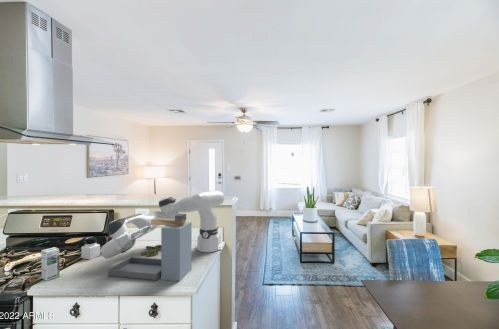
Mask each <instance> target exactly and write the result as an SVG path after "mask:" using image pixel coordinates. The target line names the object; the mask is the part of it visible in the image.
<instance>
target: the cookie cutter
mask: <svg viewBox="0 0 499 329" xmlns="http://www.w3.org/2000/svg"><path fill="white" fill-rule="evenodd" d="M145 250H146V251H142V252H140V256H141V257H143V256H146V258H151V257H156V256H158V255H159V252H161V244H156V245H155V246H151V245H146V246H145Z"/></svg>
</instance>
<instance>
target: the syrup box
mask: <svg viewBox="0 0 499 329" xmlns="http://www.w3.org/2000/svg"><path fill="white" fill-rule="evenodd" d="M40 252H41V253H40V254H41V256H40V257H41V258H40V260H41V279H42V280H45V282H47V281H50V280H53V279H56V278H60V275H61V273H60V248H58V247H56V246H55V247H51V248H46V249H41V251H40Z"/></svg>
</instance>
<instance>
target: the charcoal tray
mask: <svg viewBox="0 0 499 329" xmlns="http://www.w3.org/2000/svg"><path fill="white" fill-rule="evenodd" d="M107 270H108V271H107V272H108V277H111V278H112V277H114V278H122V279H132V280H133V279H134V280H141V281H152V282H157V281H158V280H160V279H161V258H151V257H142V256H141V257H137V256H129V257H128V258H125V259H124V260H122V261H121V262H119V263H117V264H116V265H113V266H112V267H110V268H109V269H107Z"/></svg>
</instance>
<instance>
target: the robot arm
mask: <svg viewBox="0 0 499 329" xmlns="http://www.w3.org/2000/svg"><path fill="white" fill-rule="evenodd" d="M224 201H225V195H224V193H223V191H220V190H208V191H201V192H198V193H195V194H193V195H190V196H185V197H184V198H183V197H182V198H181V199H180V200H177V198H174V197H172V196H164V197H163V198H161V199H160V200H159V201H158V207H159V209H160V210H154V211H152V212H150V213H147V214H142V213H137V214H133V215H130V216H129V215H128V216H126V217H122V218H119V219H115V220H112V221H110V222H109V223H108V224H107V225H106V226H107V227H106V233H107V234H108V235H109V236H110V237H111V238H112V240H110V241H109V242H107V241H106V242H105V244H104V245H102V246H100V255H102V257H103V258H104V259H111V258H114V257H116V256H117V255H120V254H123V253H126V252H127V251H129V250H131V249H132V248H133V247H135V244H136V241H137V239H139V238H141V237H143V236H145V235H146V234H148V233H150V232H152V231H154V230H156V229H157V228H158V227H159V226H160V225H155V224H151V219H154V218H158V219H175V215H177V214H181V213H183V214H187V213H191V212H198V214H199V223H200V224H199V226H200V227H199V231H198V232H199V235H197V240H196V241H197V242H196V243H197V244H196V246H195V247H194V248H195V249H196V250H197V251H199V252H202V253H214V252H218V251H222V250H223V247H224V244H225V242H224V241H223V240H221V235H220V234H219V232H218V231H219V226H218V225H217V224H218V218H217V215H216V214H215V213H213V208H215V207H218V206H220V205H222V204H223V203H224ZM130 224H132V225H134V226H136V228H138V229H137V230H135V231H130V229H129V227H128V226H127V225H130Z"/></svg>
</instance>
